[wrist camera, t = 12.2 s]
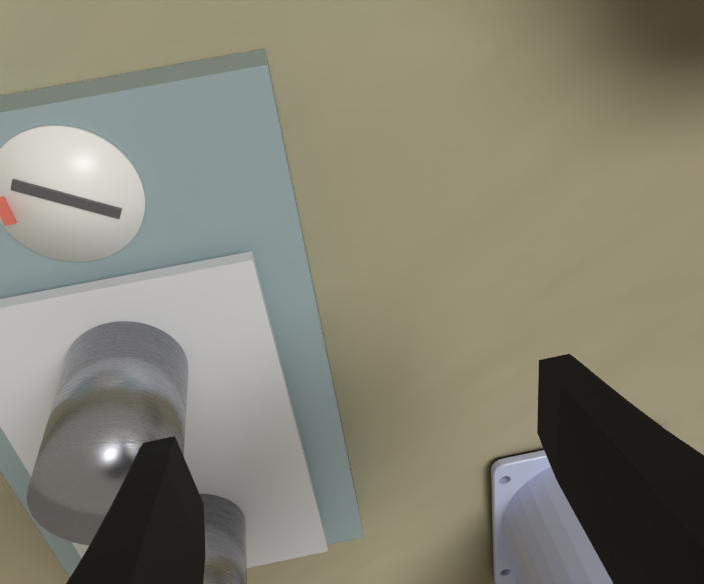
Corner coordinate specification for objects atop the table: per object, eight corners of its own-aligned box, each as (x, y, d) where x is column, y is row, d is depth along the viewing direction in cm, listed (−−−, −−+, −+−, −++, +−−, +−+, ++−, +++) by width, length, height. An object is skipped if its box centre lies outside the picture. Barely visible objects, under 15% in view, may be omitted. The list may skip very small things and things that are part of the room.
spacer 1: (195, 405, 22) (189, 536, 18) (79, 417, 21) (46, 554, 17) (180, 316, 20) (170, 439, 16) (52, 327, 19) (8, 457, 15)
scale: (358, 506, 30) (367, 558, 28) (88, 562, 29) (77, 619, 27) (264, 48, 19) (269, 75, 16) (-178, 127, 18) (-232, 166, 16)
